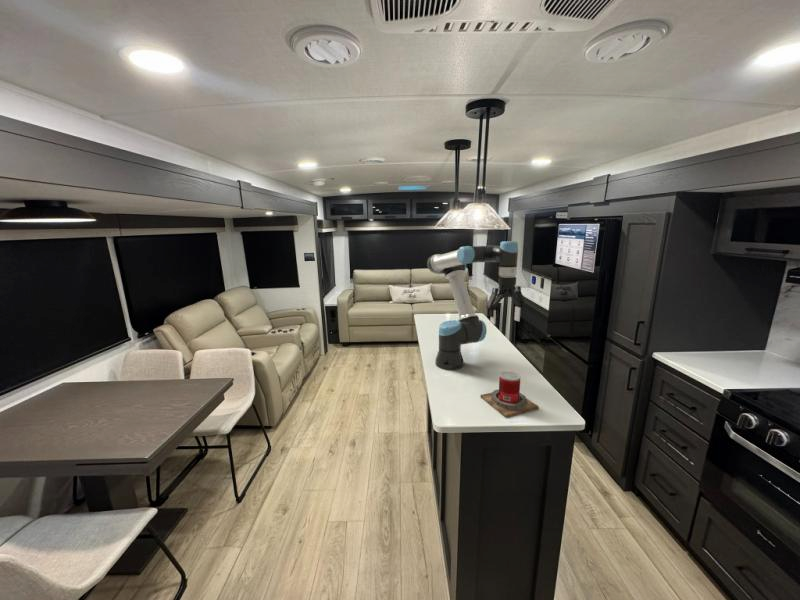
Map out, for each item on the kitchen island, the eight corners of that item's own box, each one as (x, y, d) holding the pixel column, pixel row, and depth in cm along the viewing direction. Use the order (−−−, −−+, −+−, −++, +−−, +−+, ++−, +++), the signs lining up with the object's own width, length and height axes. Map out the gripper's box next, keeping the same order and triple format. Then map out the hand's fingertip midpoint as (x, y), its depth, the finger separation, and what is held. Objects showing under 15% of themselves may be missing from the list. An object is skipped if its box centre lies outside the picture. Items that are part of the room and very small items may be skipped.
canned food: (522, 404, 121) (524, 378, 118) (504, 406, 119) (505, 380, 117) (512, 394, 128) (513, 370, 126) (495, 396, 127) (496, 372, 125)
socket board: (480, 397, 128) (480, 391, 128) (511, 390, 134) (511, 385, 133) (505, 417, 114) (505, 411, 113) (538, 409, 119) (539, 402, 118)
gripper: (489, 278, 127) (487, 327, 131) (535, 275, 135) (532, 321, 139) (478, 277, 134) (477, 323, 138) (523, 274, 142) (521, 317, 146)
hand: (505, 322), depth 138 cm, fingers open, 13 cm apart
